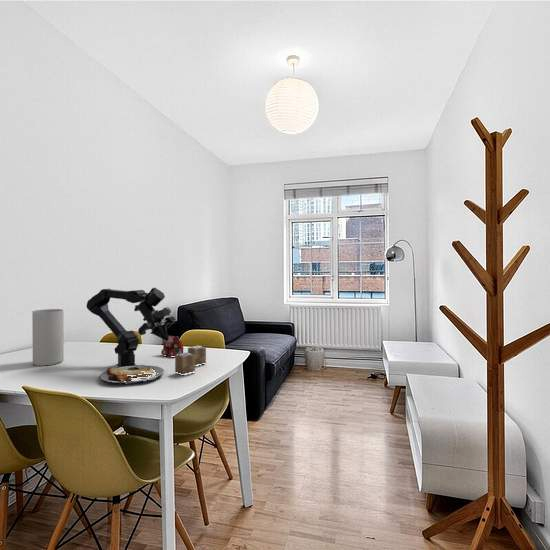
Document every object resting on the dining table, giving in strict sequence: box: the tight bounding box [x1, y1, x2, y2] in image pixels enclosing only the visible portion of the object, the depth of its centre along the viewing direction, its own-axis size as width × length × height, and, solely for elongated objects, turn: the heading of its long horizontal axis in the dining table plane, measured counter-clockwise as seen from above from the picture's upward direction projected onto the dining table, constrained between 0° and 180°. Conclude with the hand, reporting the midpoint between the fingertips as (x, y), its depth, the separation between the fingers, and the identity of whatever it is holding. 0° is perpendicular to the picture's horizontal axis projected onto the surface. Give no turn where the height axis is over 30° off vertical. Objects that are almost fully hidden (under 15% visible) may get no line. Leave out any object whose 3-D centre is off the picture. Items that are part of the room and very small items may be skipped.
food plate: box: [98, 364, 165, 384], centre depth 149 cm, size 25×23×4 cm
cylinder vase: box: [31, 308, 65, 367], centre depth 171 cm, size 12×12×25 cm
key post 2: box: [174, 354, 196, 374], centre depth 155 cm, size 6×6×8 cm
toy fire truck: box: [160, 335, 184, 357], centre depth 187 cm, size 7×12×10 cm, turn 65°
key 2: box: [179, 352, 191, 357], centre depth 155 cm, size 4×4×8 cm
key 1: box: [190, 345, 204, 349], centre depth 170 cm, size 4×4×8 cm
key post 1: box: [187, 346, 207, 365], centre depth 170 cm, size 6×6×8 cm
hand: (167, 340), depth 160 cm, fingers closed
